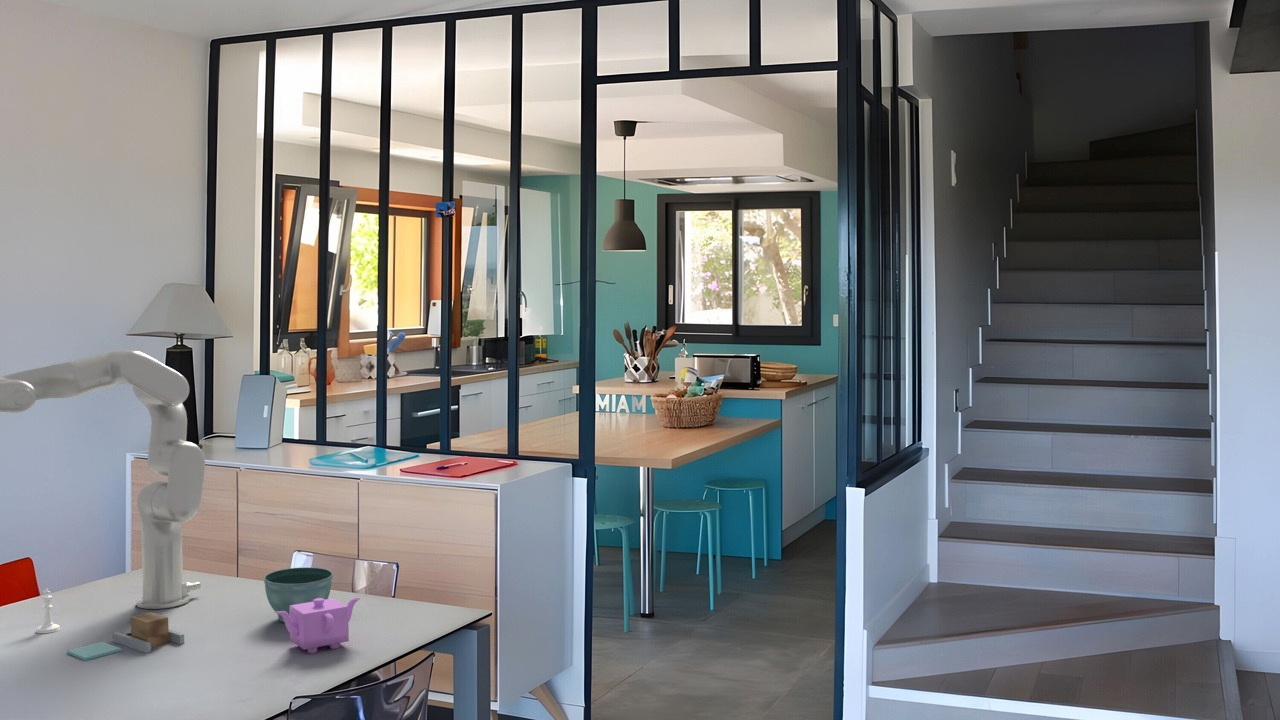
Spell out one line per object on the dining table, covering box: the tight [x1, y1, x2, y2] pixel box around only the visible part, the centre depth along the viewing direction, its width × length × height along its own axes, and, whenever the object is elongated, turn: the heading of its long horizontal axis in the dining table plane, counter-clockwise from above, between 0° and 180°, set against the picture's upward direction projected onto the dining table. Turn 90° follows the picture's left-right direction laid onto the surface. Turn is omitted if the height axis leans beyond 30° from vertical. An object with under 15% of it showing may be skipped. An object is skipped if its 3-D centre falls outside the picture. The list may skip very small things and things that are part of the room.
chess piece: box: [36, 588, 61, 634], centre depth 256 cm, size 5×5×10 cm
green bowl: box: [263, 566, 334, 623], centre depth 266 cm, size 16×16×11 cm
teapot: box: [274, 597, 362, 654], centre depth 244 cm, size 15×13×11 cm
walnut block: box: [130, 611, 170, 649], centre depth 247 cm, size 5×7×6 cm
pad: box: [66, 641, 122, 661], centre depth 240 cm, size 8×8×1 cm
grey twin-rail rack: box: [112, 628, 185, 654], centre depth 247 cm, size 9×14×2 cm, turn 54°
